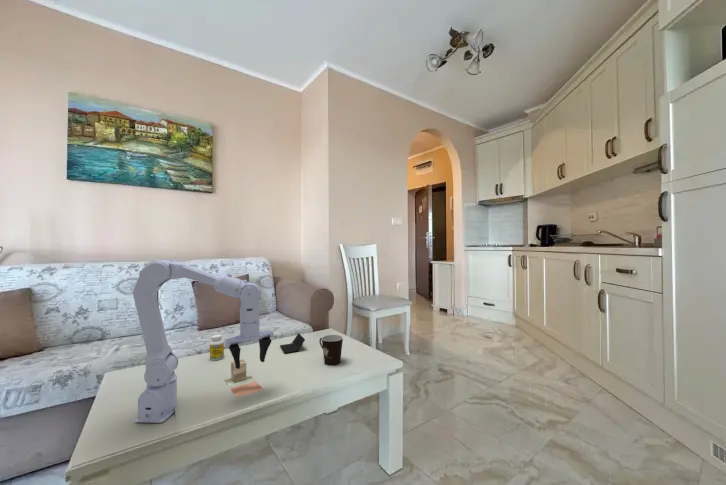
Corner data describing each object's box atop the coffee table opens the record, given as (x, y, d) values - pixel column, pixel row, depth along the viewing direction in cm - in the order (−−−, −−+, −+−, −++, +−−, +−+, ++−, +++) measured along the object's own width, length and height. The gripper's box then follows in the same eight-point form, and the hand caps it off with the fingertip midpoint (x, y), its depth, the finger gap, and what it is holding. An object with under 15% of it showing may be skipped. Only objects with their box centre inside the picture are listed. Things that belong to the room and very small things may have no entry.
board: (266, 393, 98) (266, 389, 98) (234, 403, 91) (234, 399, 91) (249, 374, 112) (249, 371, 112) (220, 382, 106) (220, 378, 106)
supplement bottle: (222, 355, 131) (222, 333, 131) (224, 359, 127) (224, 336, 127) (209, 357, 128) (208, 335, 128) (210, 362, 124) (210, 338, 124)
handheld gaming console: (275, 344, 140) (289, 326, 142) (286, 350, 144) (299, 332, 146) (284, 355, 130) (298, 335, 133) (296, 362, 134) (309, 342, 137)
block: (246, 379, 105) (246, 362, 105) (234, 382, 102) (234, 365, 102) (242, 375, 108) (242, 358, 108) (231, 378, 105) (231, 361, 105)
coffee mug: (345, 364, 120) (345, 339, 120) (324, 368, 117) (324, 342, 117) (337, 354, 131) (337, 331, 131) (317, 357, 128) (317, 334, 128)
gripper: (229, 328, 87) (229, 375, 87) (276, 320, 97) (277, 362, 97) (222, 323, 93) (223, 367, 93) (268, 315, 102) (268, 355, 102)
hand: (250, 364), depth 95 cm, fingers open, 7 cm apart
